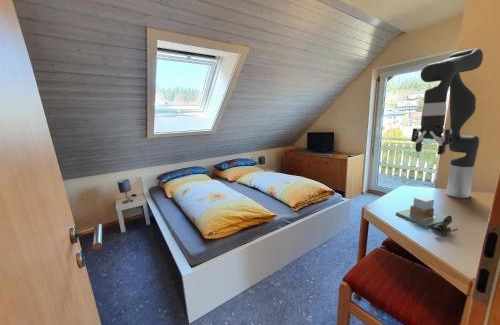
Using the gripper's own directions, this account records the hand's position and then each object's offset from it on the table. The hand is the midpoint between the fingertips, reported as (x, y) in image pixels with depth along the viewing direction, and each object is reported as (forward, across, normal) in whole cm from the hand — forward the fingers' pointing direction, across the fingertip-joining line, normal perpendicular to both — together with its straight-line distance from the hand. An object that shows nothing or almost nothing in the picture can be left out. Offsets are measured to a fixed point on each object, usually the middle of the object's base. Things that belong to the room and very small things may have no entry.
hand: (429, 153), depth 92 cm
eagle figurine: (+30, -11, +4) cm, 33 cm away
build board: (+30, 0, 0) cm, 30 cm away
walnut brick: (+29, 0, 0) cm, 29 cm away
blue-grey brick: (+25, 0, 0) cm, 25 cm away
